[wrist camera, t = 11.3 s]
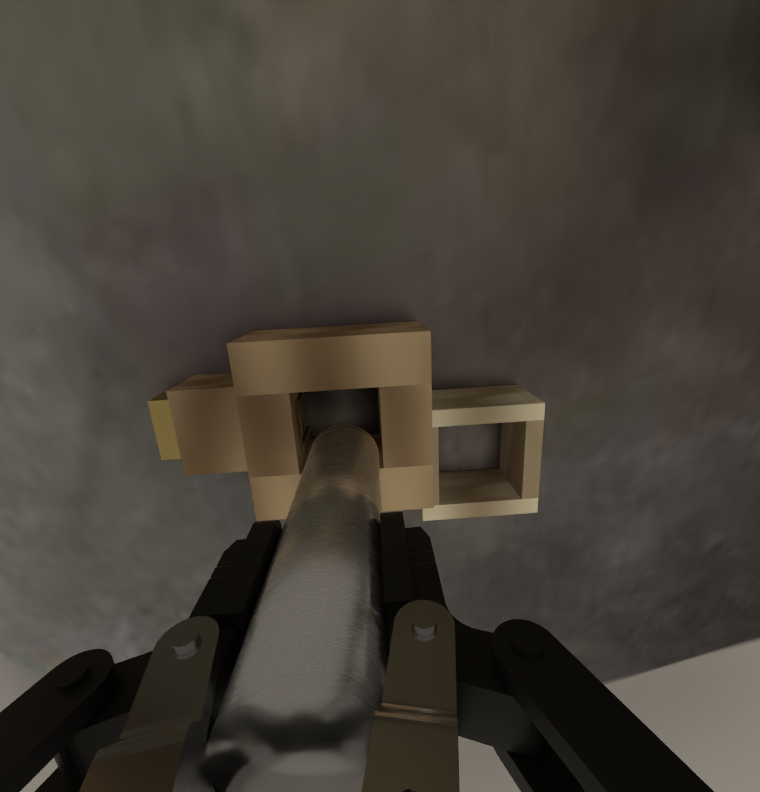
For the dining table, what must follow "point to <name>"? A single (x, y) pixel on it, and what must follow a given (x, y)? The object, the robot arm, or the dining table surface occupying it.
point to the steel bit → (312, 637)
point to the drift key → (167, 432)
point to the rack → (519, 453)
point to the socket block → (279, 414)
